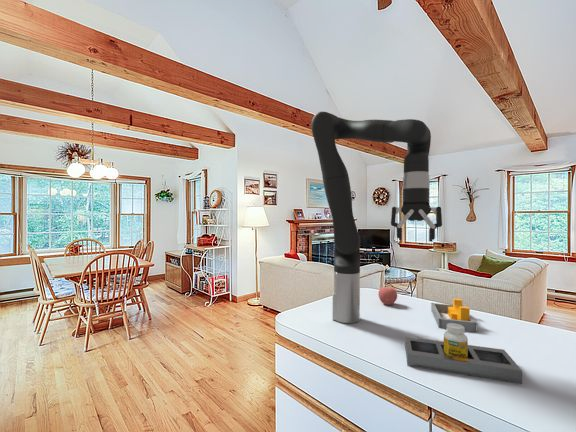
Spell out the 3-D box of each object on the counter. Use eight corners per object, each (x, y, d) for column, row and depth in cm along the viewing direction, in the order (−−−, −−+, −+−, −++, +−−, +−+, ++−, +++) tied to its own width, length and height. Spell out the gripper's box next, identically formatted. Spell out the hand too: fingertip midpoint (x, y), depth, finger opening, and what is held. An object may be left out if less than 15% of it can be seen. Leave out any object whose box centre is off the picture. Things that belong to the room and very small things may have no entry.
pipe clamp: (447, 314, 113) (448, 298, 113) (460, 316, 111) (460, 299, 111) (455, 326, 101) (455, 307, 101) (469, 327, 100) (469, 308, 100)
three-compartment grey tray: (407, 365, 74) (407, 352, 74) (405, 346, 84) (405, 335, 84) (522, 384, 66) (522, 369, 66) (504, 361, 77) (504, 348, 77)
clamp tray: (438, 327, 99) (438, 318, 99) (431, 310, 117) (431, 302, 117) (476, 332, 96) (476, 322, 96) (462, 313, 114) (462, 305, 113)
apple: (375, 302, 128) (375, 283, 128) (390, 301, 129) (390, 283, 129) (384, 307, 120) (384, 288, 120) (400, 306, 122) (400, 287, 122)
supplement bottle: (464, 359, 77) (464, 323, 77) (470, 369, 72) (470, 330, 72) (441, 356, 79) (442, 320, 79) (445, 366, 74) (446, 328, 74)
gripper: (391, 187, 89) (390, 240, 89) (444, 186, 84) (443, 242, 84) (391, 189, 96) (390, 239, 96) (439, 188, 91) (439, 240, 91)
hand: (415, 240), depth 90 cm, fingers open, 8 cm apart
